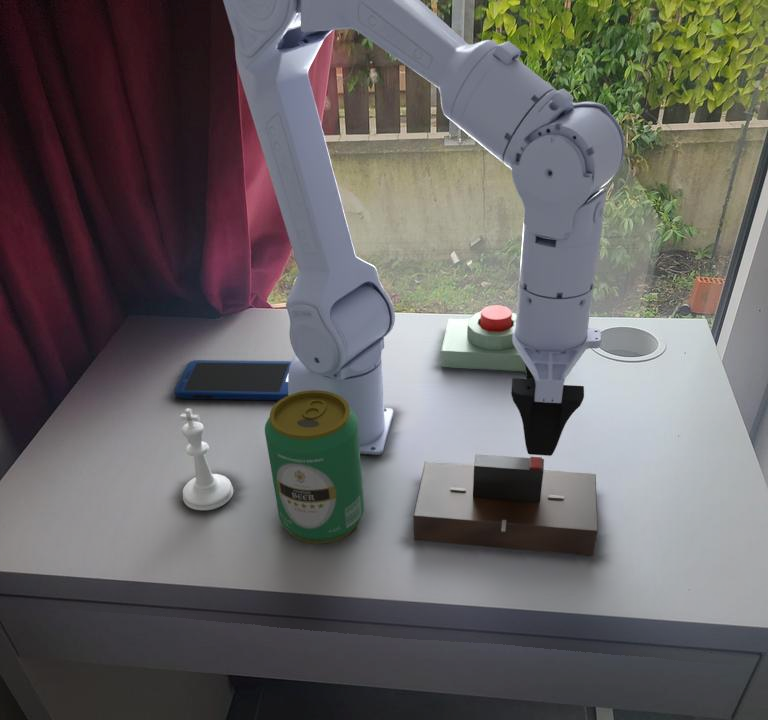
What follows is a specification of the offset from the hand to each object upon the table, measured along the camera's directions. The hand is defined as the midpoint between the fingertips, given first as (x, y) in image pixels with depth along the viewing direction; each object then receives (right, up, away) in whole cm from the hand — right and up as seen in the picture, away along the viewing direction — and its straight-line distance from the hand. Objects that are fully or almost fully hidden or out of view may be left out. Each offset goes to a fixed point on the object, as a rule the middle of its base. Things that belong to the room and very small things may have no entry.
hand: (540, 426), depth 72 cm
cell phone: (-31, +8, +24) cm, 40 cm away
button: (-1, +14, +24) cm, 28 cm away
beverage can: (-20, -8, +5) cm, 22 cm away
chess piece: (-31, -6, +9) cm, 33 cm away
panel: (-3, -8, +4) cm, 9 cm away
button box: (0, +12, +27) cm, 29 cm away
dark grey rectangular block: (-3, -6, +2) cm, 7 cm away
